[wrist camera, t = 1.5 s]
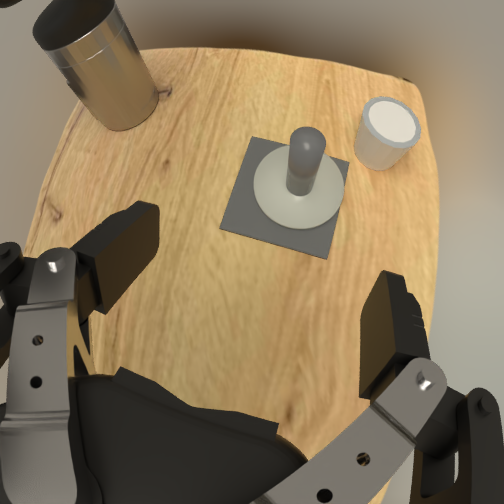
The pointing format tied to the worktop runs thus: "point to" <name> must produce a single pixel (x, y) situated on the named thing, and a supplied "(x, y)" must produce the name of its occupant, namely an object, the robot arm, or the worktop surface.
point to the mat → (257, 223)
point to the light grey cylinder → (385, 133)
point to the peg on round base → (299, 182)
